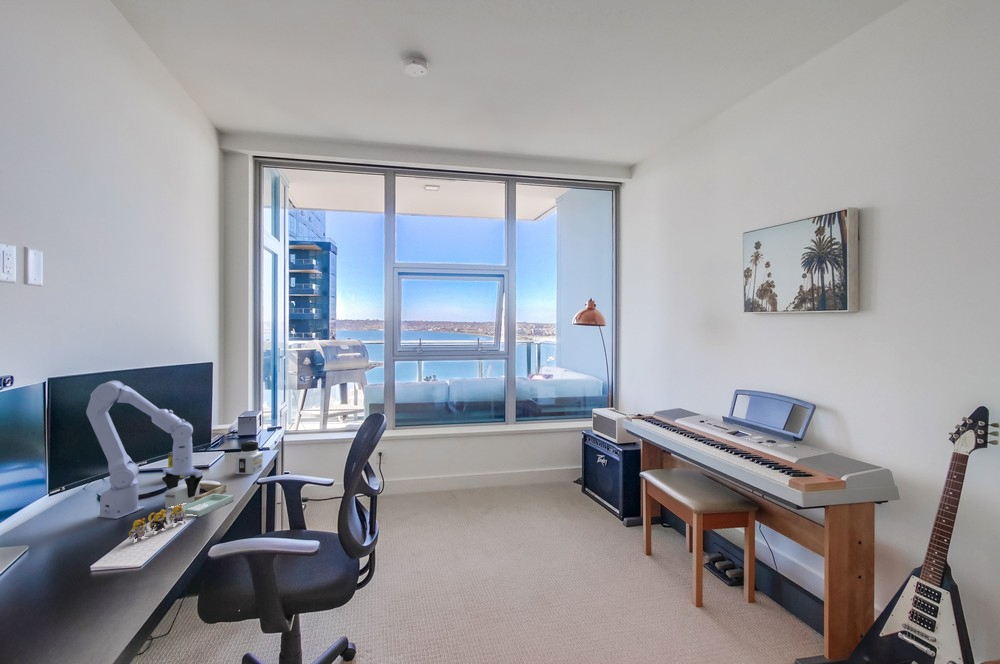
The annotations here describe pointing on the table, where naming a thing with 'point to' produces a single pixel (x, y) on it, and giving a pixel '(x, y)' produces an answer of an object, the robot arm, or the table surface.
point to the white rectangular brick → (179, 495)
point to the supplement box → (170, 463)
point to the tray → (212, 501)
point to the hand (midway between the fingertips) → (182, 495)
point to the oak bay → (211, 490)
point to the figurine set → (156, 521)
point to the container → (249, 458)
